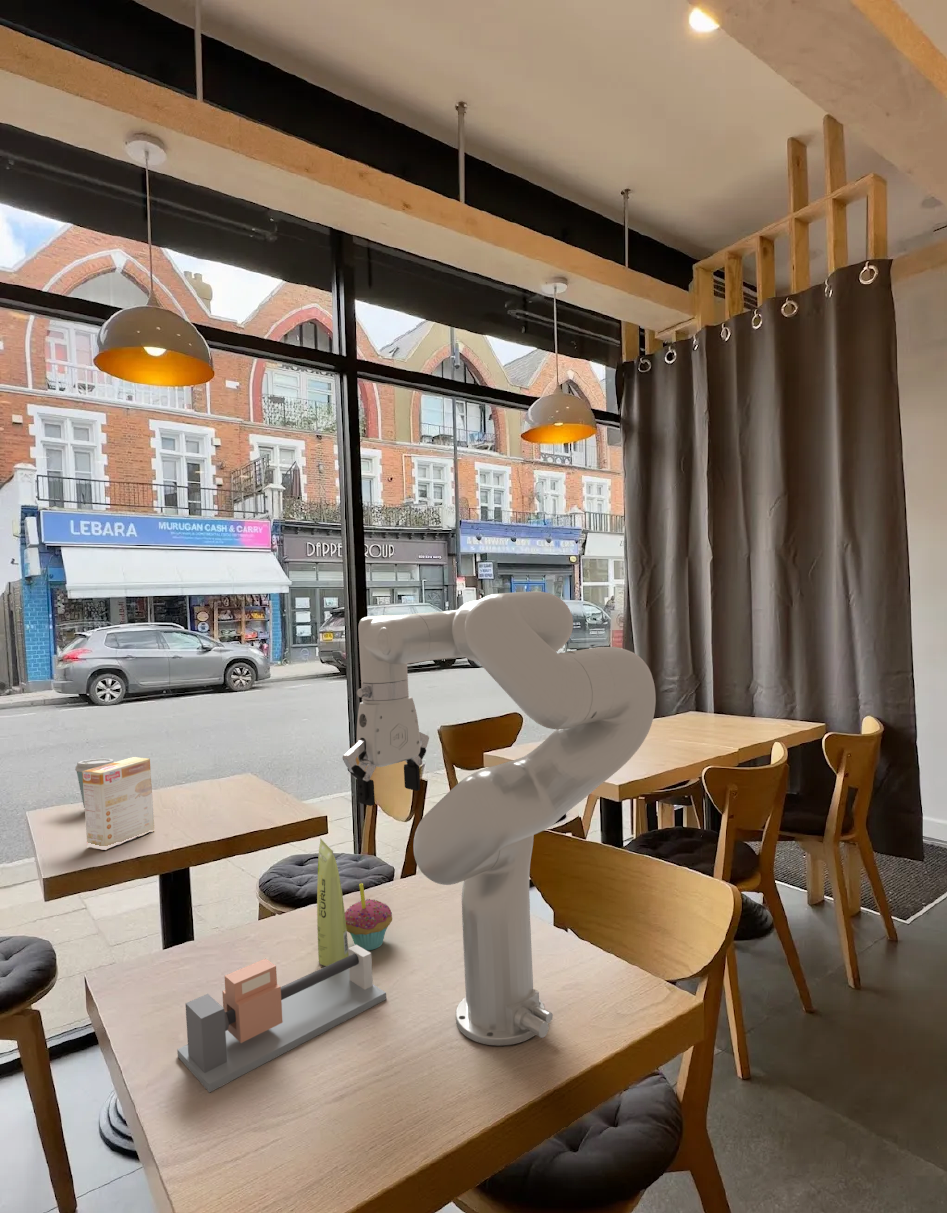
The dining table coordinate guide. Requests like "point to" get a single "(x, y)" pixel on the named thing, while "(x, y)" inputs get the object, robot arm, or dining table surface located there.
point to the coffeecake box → (118, 801)
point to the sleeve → (253, 999)
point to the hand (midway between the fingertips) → (390, 796)
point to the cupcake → (368, 922)
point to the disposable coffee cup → (86, 766)
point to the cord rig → (304, 1016)
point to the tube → (330, 909)
